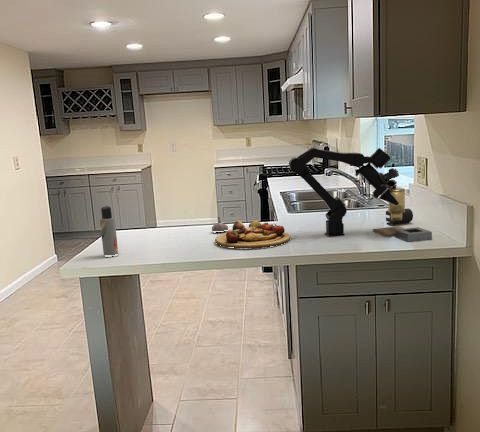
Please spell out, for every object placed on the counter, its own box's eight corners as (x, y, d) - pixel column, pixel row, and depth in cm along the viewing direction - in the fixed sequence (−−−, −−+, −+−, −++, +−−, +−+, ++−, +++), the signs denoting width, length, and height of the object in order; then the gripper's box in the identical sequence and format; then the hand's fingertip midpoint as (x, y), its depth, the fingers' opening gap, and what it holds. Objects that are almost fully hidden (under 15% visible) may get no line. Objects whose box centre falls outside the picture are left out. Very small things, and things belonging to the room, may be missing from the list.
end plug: (392, 221, 199) (392, 190, 196) (385, 218, 205) (385, 189, 203) (407, 220, 199) (408, 189, 197) (400, 217, 206) (400, 187, 204)
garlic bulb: (210, 234, 227) (209, 217, 226) (214, 231, 234) (213, 214, 233) (226, 234, 225) (224, 217, 224) (230, 230, 232) (229, 214, 231)
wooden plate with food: (241, 255, 186) (240, 233, 185) (201, 241, 213) (200, 222, 212) (306, 242, 203) (306, 222, 202) (262, 231, 230) (261, 213, 228)
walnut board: (386, 236, 199) (385, 234, 199) (372, 231, 211) (372, 228, 211) (413, 233, 202) (413, 231, 201) (398, 228, 213) (398, 226, 213)
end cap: (394, 226, 218) (394, 211, 217) (385, 224, 225) (384, 209, 224) (413, 224, 221) (413, 209, 220) (403, 221, 228) (403, 207, 226)
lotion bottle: (119, 253, 200) (114, 205, 197) (116, 257, 195) (111, 207, 191) (105, 254, 200) (100, 206, 197) (102, 258, 195) (96, 208, 191)
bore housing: (408, 242, 188) (407, 234, 188) (395, 236, 198) (395, 229, 198) (431, 239, 190) (431, 231, 190) (418, 234, 200) (418, 227, 199)
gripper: (380, 164, 192) (409, 192, 189) (391, 160, 208) (418, 186, 204) (361, 184, 197) (389, 212, 194) (373, 179, 213) (399, 204, 210)
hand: (399, 203), depth 200 cm, fingers closed on end plug, 6 cm apart
